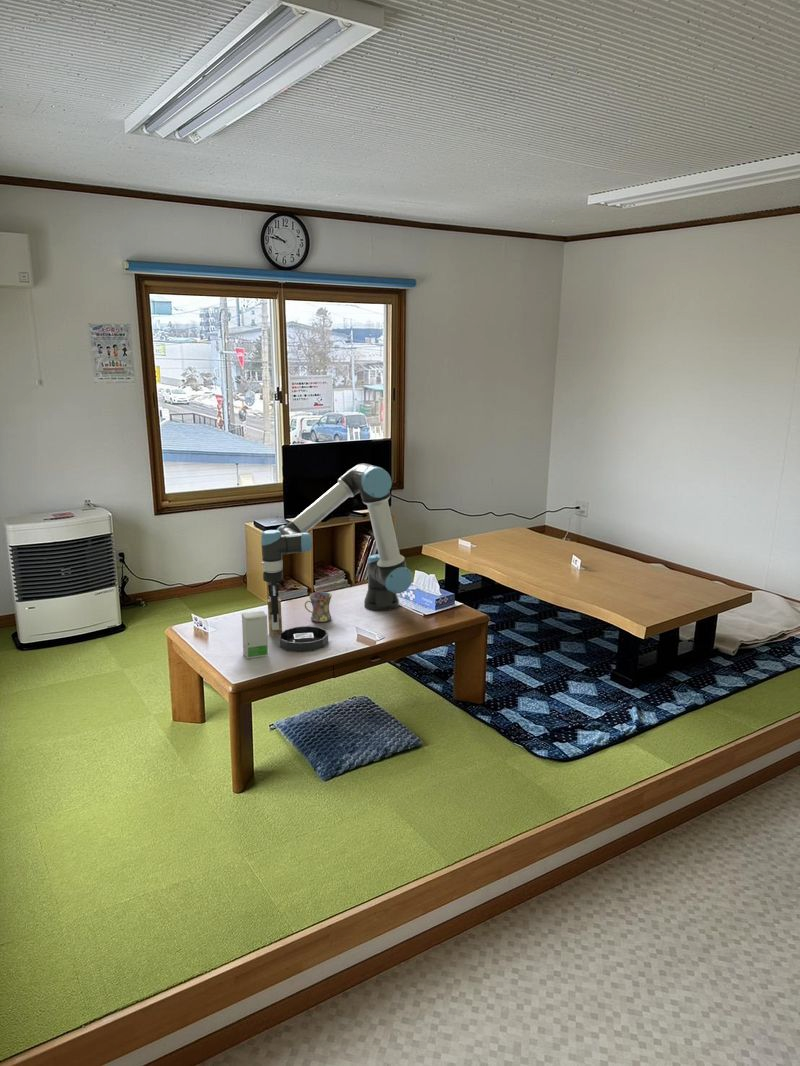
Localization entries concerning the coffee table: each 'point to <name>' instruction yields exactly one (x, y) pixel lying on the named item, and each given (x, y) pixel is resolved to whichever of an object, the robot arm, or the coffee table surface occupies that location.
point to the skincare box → (255, 634)
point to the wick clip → (303, 637)
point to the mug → (320, 606)
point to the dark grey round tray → (318, 643)
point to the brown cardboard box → (271, 632)
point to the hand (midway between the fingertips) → (275, 627)
